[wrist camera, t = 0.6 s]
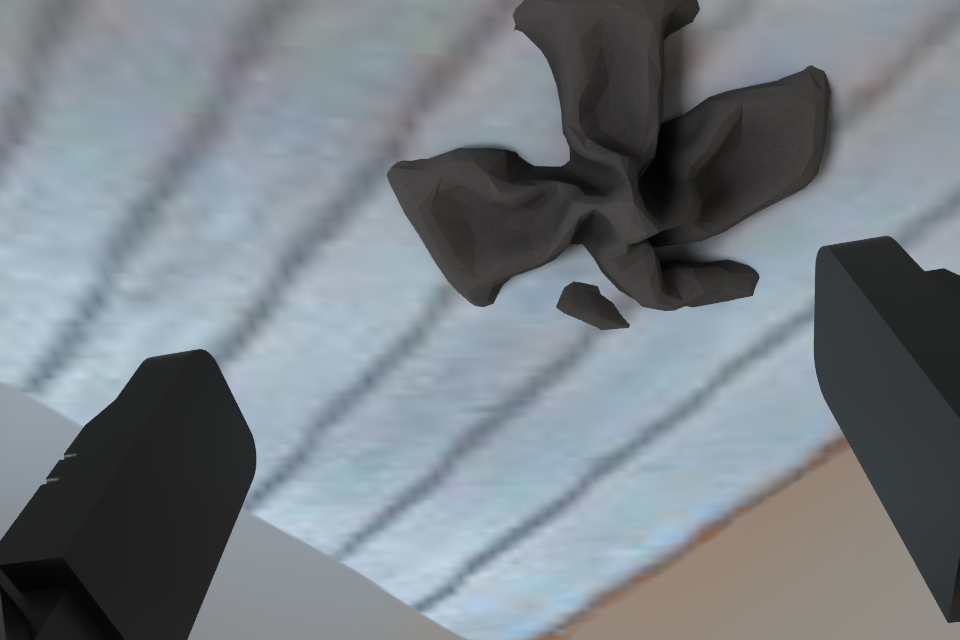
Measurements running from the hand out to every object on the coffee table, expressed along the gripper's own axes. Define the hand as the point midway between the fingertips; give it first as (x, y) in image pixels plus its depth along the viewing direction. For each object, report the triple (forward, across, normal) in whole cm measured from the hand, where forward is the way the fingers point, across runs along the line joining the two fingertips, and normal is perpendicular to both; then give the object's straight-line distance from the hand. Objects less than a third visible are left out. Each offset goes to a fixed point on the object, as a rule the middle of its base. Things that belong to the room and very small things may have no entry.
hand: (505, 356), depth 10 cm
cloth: (+26, -4, +10) cm, 29 cm away
